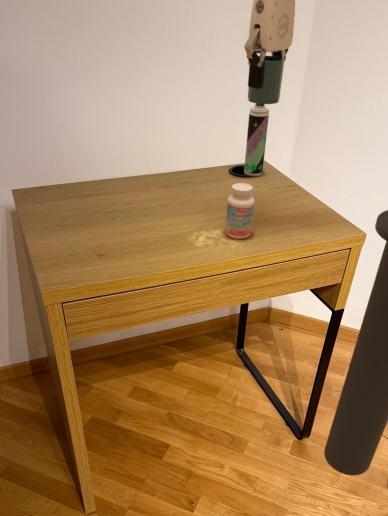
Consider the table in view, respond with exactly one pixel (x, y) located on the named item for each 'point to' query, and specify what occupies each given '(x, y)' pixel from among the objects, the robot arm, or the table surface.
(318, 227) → the table surface
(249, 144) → the spray can
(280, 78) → the cup
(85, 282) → the table surface
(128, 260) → the table surface
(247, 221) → the pill bottle
